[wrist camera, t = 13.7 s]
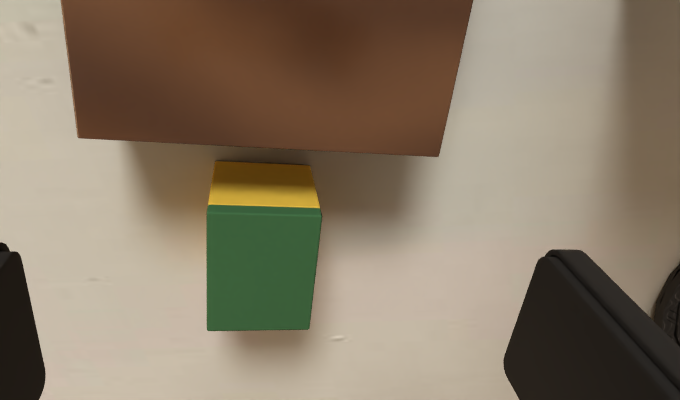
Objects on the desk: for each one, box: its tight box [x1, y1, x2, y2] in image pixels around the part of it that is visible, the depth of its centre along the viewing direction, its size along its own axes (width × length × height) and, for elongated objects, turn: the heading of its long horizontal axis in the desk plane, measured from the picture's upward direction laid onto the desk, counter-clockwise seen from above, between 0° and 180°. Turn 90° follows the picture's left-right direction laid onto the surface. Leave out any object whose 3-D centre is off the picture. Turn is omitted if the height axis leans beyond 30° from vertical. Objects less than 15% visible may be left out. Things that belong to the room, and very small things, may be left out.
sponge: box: [207, 161, 322, 331], centre depth 26 cm, size 7×5×6 cm
